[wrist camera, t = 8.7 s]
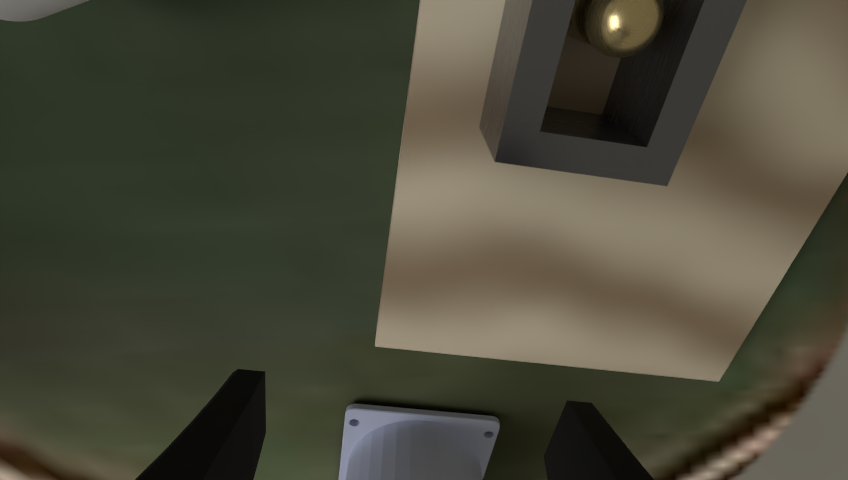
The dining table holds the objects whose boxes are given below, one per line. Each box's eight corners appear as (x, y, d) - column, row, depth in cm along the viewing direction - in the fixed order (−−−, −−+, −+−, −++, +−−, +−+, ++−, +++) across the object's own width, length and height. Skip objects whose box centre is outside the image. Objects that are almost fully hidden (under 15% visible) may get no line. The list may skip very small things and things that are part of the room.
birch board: (701, 358, 23) (718, 381, 22) (376, 324, 22) (374, 346, 21) (996, -155, 14) (1057, -169, 13) (456, -276, 12) (461, -306, 11)
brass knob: (604, 48, 15) (659, 68, 12) (549, 38, 15) (588, 56, 11) (624, -17, 14) (691, -15, 11) (566, -28, 14) (614, -29, 11)
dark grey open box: (620, 147, 16) (666, 186, 13) (479, 126, 16) (494, 161, 13) (723, -141, 13) (823, -179, 10) (542, -179, 12) (586, -231, 9)
